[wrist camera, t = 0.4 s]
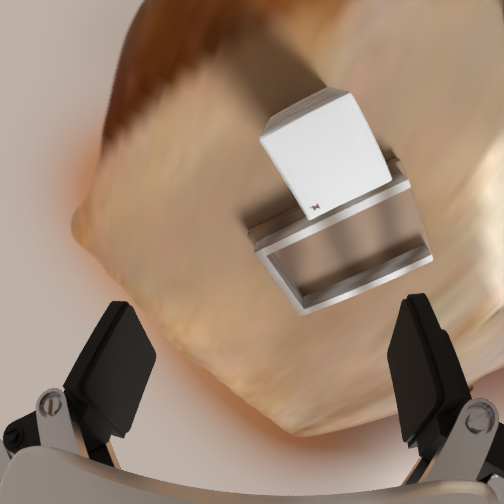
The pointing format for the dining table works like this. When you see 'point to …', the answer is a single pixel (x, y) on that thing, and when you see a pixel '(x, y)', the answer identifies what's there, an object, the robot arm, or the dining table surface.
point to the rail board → (344, 245)
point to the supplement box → (325, 151)
